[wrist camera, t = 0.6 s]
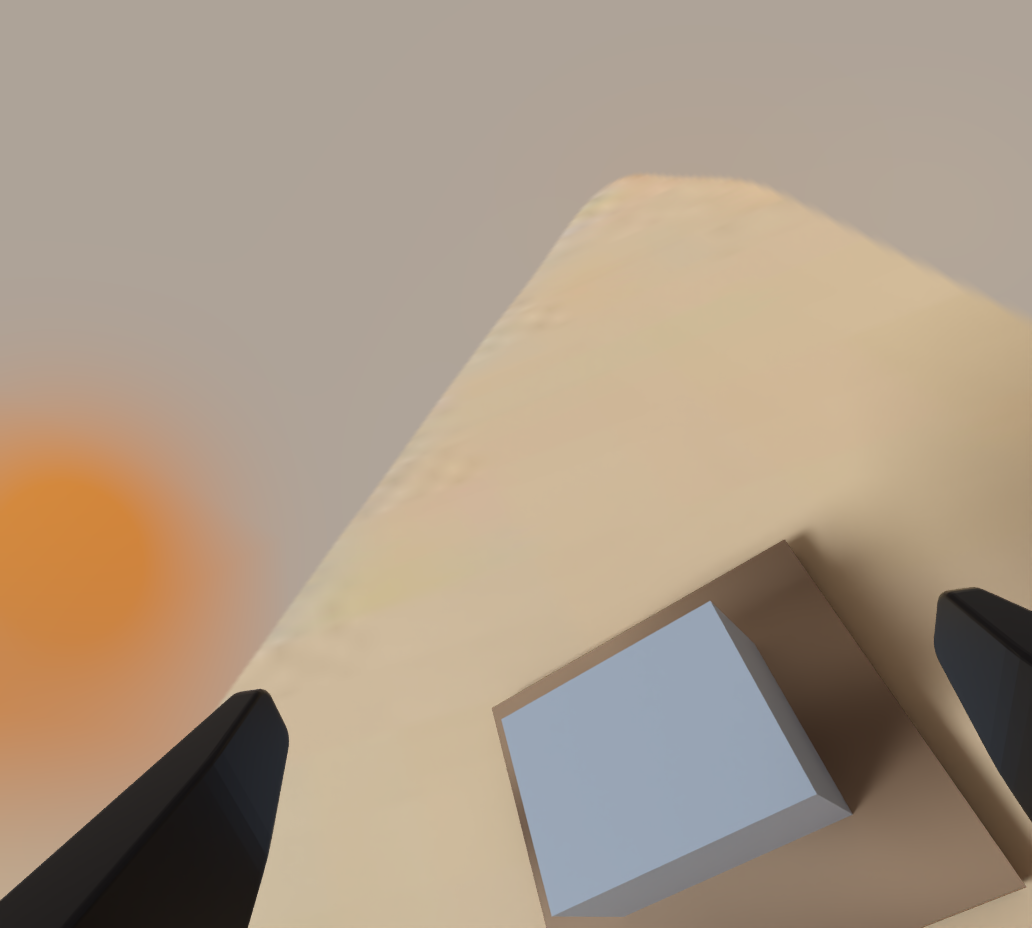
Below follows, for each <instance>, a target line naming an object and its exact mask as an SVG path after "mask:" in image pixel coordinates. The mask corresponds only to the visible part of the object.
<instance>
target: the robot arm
mask: <svg viewBox="0 0 1032 928" xmlns="http://www.w3.org/2000/svg"><path fill="white" fill-rule="evenodd" d="M934 647H935V652H936V655H937V658H938V660H939V662H940V664H941V666H942V668H943V669H944V671H945V673H946V675H947V677H948V679H949V681H950V683H951V684H952V686H953V688H954V690H955V692H956V694H957V696H958V698H959V699H960V701H961V703H962V705H963V707H964V709H965V711H966V713H967V714H968V716H969V718H970V720H971V722H972V724H973V726H974V728H975V729H976V731H977V733H978V735H979V737H980V739H981V741H982V743H983V744H984V746H985V748H986V750H987V752H988V754H989V756H990V757H991V759H992V761H993V763H994V764H995V766H996V768H997V770H998V771H999V773H1000V775H1001V776H1002V778H1003V779H1004V781H1005V782H1006V784H1007V786H1008V787H1009V789H1010V790H1011V792H1012V793H1013V795H1014V796H1015V798H1016V799H1017V801H1018V802H1019V804H1020V805H1021V807H1022V808H1023V810H1024V811H1025V813H1026V814H1027V816H1028V817H1029V819H1030V820H1031V822H1032V611H1030V610H1028V609H1026V608H1024V607H1021V606H1019V605H1017V604H1015V603H1012V602H1010V601H1008V600H1006V599H1003V598H1001V597H999V596H997V595H994V594H992V593H990V592H988V591H986V590H983V589H980V588H976V587H970V588H963V589H956V590H949V591H945V592H943V593H942V594H941V595H940V596H939V599H938V603H937V614H936V624H935V634H934ZM288 747H289V735H288V731H287V728H286V726H285V724H284V721H283V719H282V717H281V715H280V713H279V711H278V709H277V707H276V705H275V703H274V701H273V699H272V697H271V695H270V694H269V693H268V692H267V691H266V690H263V689H256V690H249V691H242V692H238V693H236V694H234V695H232V696H231V697H230V698H229V699H228V700H227V701H225V702H224V703H223V704H222V705H221V706H220V707H219V708H218V709H216V710H215V711H214V712H213V713H212V714H211V715H210V716H209V717H207V718H206V719H205V720H204V721H203V722H202V723H201V724H200V725H198V726H197V727H196V728H195V729H194V730H193V731H192V732H190V733H189V734H188V735H187V736H186V737H185V738H184V739H183V740H181V741H180V742H179V743H178V744H177V745H176V746H175V747H173V748H172V749H171V750H170V751H169V752H168V753H167V754H166V755H164V757H162V758H161V759H160V760H159V761H158V762H157V763H155V764H154V765H153V766H152V767H151V768H150V769H149V770H147V771H146V772H145V773H144V774H143V775H142V776H141V777H140V778H138V779H137V780H136V781H135V782H134V783H133V784H132V785H130V786H129V787H128V788H127V789H126V790H125V791H124V792H123V793H121V794H120V795H119V796H118V797H117V798H116V799H115V800H113V801H112V802H111V803H110V804H109V805H108V806H107V807H106V808H104V809H103V810H102V811H101V812H100V813H99V814H98V815H97V816H96V817H94V818H93V819H92V820H91V821H90V822H89V823H87V824H86V825H85V826H84V827H83V828H82V829H81V830H80V831H78V832H77V833H76V834H75V835H74V836H73V837H72V838H70V839H69V840H68V841H67V842H66V843H65V844H64V845H63V846H61V847H60V848H59V849H58V850H57V851H56V852H55V853H54V854H52V855H51V856H50V857H49V858H48V859H47V860H46V861H44V862H43V863H42V864H41V865H40V866H39V867H38V868H36V870H34V871H33V872H32V873H31V874H30V875H29V876H27V877H26V878H25V879H24V880H23V881H22V882H21V883H20V884H18V885H17V886H16V887H15V888H14V889H13V890H12V891H10V892H9V893H8V894H7V895H6V896H5V897H4V898H3V899H1V900H0V928H248V925H249V922H250V918H251V915H252V911H253V908H254V904H255V901H256V897H257V894H258V890H259V887H260V884H261V880H262V877H263V873H264V869H265V865H266V862H267V858H268V853H269V849H270V844H271V839H272V834H273V829H274V823H275V818H276V813H277V807H278V802H279V796H280V791H281V785H282V780H283V775H284V769H285V764H286V758H287V753H288Z"/></svg>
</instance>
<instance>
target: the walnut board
mask: <svg viewBox="0 0 1032 928" xmlns="http://www.w3.org/2000/svg"><path fill="white" fill-rule="evenodd" d="M709 601H711V602H712V603H713V604H714V605H715V606H716V607H717V608H718V609H719V610H720V611H721V612H722V613H723V614H724V615H725V616H726V617H727V618H728V619H729V620H731V621H732V622H733V623H734V624H735V625H736V626H737V627H738V628H739V629H740V630H741V631H742V632H743V633H744V634H745V635H746V636H747V637H748V638H749V639H750V640H751V641H752V642H753V643H754V644H755V645H756V647H757V649H758V651H759V652H760V654H761V656H762V658H763V659H764V661H765V663H766V665H767V666H768V668H769V670H770V672H771V673H772V675H773V677H774V678H775V680H776V682H777V684H778V685H779V687H780V689H781V691H782V692H783V694H784V696H785V698H786V699H787V701H788V703H789V705H790V706H791V708H792V710H793V711H794V713H795V715H796V717H797V718H798V720H799V722H800V724H801V725H802V727H803V729H804V731H805V732H806V734H807V736H808V738H809V739H810V741H811V743H812V744H813V746H814V748H815V750H816V751H817V753H818V755H819V757H820V758H821V760H822V762H823V764H824V765H825V767H826V769H827V771H828V772H829V774H830V776H831V777H832V779H833V781H834V783H835V784H836V786H837V788H838V790H839V791H840V793H841V795H842V797H843V798H844V800H845V802H846V804H847V805H848V807H849V809H850V811H851V812H852V814H853V815H851V816H848V817H846V818H844V819H842V820H839V821H837V822H835V823H833V824H830V825H828V826H826V827H824V828H821V829H819V830H817V831H815V832H812V833H810V834H808V835H806V836H804V837H801V838H799V839H797V840H795V841H792V842H790V843H788V844H786V845H783V846H781V847H779V848H777V849H774V850H772V851H770V852H768V853H765V854H763V855H761V856H759V857H756V858H754V859H752V860H750V861H748V862H745V863H743V864H741V865H739V866H736V867H734V868H732V869H730V870H727V871H725V872H723V873H721V874H718V875H716V876H714V877H712V878H709V879H707V880H705V881H703V882H700V883H698V884H696V885H694V886H692V887H689V888H687V889H685V890H683V891H680V892H678V893H676V894H674V895H671V896H669V897H667V898H665V899H662V900H660V901H658V902H656V903H653V904H651V905H649V906H647V907H644V908H642V909H640V910H638V911H636V912H633V913H631V914H629V915H627V916H624V917H562V916H551V912H550V908H549V904H548V900H547V896H546V892H545V888H544V884H543V880H542V877H541V873H540V869H539V865H538V861H537V857H536V853H535V849H534V845H533V841H532V837H531V834H530V830H529V826H528V822H527V818H526V814H525V810H524V806H523V802H522V798H521V794H520V791H519V787H518V783H517V779H516V775H515V771H514V767H513V763H512V759H511V755H510V751H509V747H508V744H507V740H506V736H505V732H504V728H503V724H502V720H501V719H503V718H504V717H506V716H508V715H510V714H512V713H513V712H515V711H517V710H519V709H520V708H522V707H524V706H526V705H527V704H529V703H531V702H533V701H534V700H536V699H538V698H540V697H541V696H543V695H545V694H547V693H549V692H550V691H552V690H554V689H556V688H557V687H559V686H561V685H563V684H564V683H566V682H568V681H570V680H571V679H573V678H575V677H577V676H578V675H580V674H582V673H584V672H586V671H587V670H589V669H591V668H593V667H594V666H596V665H598V664H600V663H601V662H603V661H605V660H607V659H608V658H610V657H612V656H614V655H615V654H617V653H619V652H621V651H623V650H624V649H626V648H628V647H630V646H631V645H633V644H635V643H637V642H638V641H640V640H642V639H644V638H645V637H647V636H649V635H651V634H652V633H654V632H656V631H658V630H659V629H661V628H663V627H665V626H667V625H668V624H670V623H672V622H674V621H675V620H677V619H679V618H681V617H682V616H684V615H686V614H688V613H689V612H691V611H693V610H695V609H696V608H698V607H700V606H702V605H704V604H705V603H707V602H709ZM492 711H493V715H494V719H495V723H496V727H497V731H498V735H499V739H500V743H501V747H502V751H503V755H504V759H505V763H506V767H507V771H508V775H509V779H510V783H511V787H512V791H513V795H514V799H515V803H516V807H517V811H518V815H519V819H520V823H521V827H522V831H523V835H524V839H525V843H526V847H527V851H528V856H529V860H530V864H531V868H532V872H533V876H534V880H535V884H536V888H537V892H538V896H539V900H540V904H541V908H542V912H543V916H544V920H545V924H546V928H922V927H925V926H928V925H930V924H933V923H935V922H938V921H940V920H943V919H946V918H948V917H951V916H953V915H956V914H958V913H961V912H964V911H966V910H969V909H971V908H974V907H976V906H979V905H982V904H984V903H987V902H989V901H992V900H994V899H997V898H1000V897H1002V896H1005V895H1007V894H1010V893H1012V892H1015V891H1018V890H1020V889H1023V888H1025V887H1026V886H1025V884H1024V883H1023V881H1022V880H1021V879H1020V877H1019V876H1018V874H1017V873H1016V871H1015V870H1014V868H1013V867H1012V866H1011V864H1010V863H1009V861H1008V860H1007V858H1006V857H1005V856H1004V854H1003V853H1002V851H1001V850H1000V848H999V847H998V846H997V844H996V843H995V841H994V840H993V838H992V837H991V835H990V834H989V833H988V831H987V830H986V828H985V827H984V825H983V824H982V823H981V821H980V820H979V818H978V817H977V815H976V814H975V812H974V811H973V810H972V808H971V807H970V805H969V804H968V802H967V801H966V800H965V798H964V797H963V795H962V794H961V792H960V791H959V789H958V788H957V787H956V785H955V784H954V782H953V781H952V779H951V778H950V777H949V775H948V774H947V772H946V771H945V769H944V768H943V766H942V765H941V764H940V762H939V761H938V759H937V758H936V756H935V755H934V754H933V752H932V751H931V749H930V748H929V746H928V745H927V743H926V742H925V741H924V739H923V738H922V736H921V735H920V733H919V732H918V731H917V729H916V728H915V726H914V725H913V723H912V722H911V720H910V719H909V718H908V716H907V715H906V713H905V712H904V710H903V709H902V708H901V706H900V705H899V703H898V702H897V700H896V699H895V697H894V696H893V695H892V693H891V692H890V690H889V689H888V687H887V686H886V685H885V683H884V682H883V680H882V679H881V677H880V676H879V674H878V673H877V672H876V670H875V669H874V667H873V666H872V664H871V663H870V662H869V660H868V659H867V657H866V656H865V654H864V653H863V652H862V650H861V649H860V647H859V646H858V644H857V643H856V641H855V640H854V639H853V637H852V636H851V634H850V633H849V631H848V630H847V629H846V627H845V626H844V624H843V623H842V621H841V620H840V618H839V617H838V616H837V614H836V613H835V611H834V610H833V608H832V607H831V606H830V604H829V603H828V601H827V600H826V598H825V597H824V595H823V594H822V593H821V591H820V590H819V588H818V587H817V585H816V584H815V583H814V581H813V580H812V578H811V577H810V575H809V574H808V572H807V571H806V570H805V568H804V567H803V565H802V564H801V562H800V561H799V560H798V558H797V557H796V555H795V554H794V552H793V551H792V549H791V548H790V547H789V545H788V544H787V542H786V541H785V540H783V541H781V542H779V543H778V544H776V545H774V546H772V547H771V548H769V549H767V550H765V551H764V552H762V553H760V554H759V555H757V556H755V557H753V558H752V559H750V560H748V561H746V562H745V563H743V564H741V565H739V566H738V567H736V568H734V569H733V570H731V571H729V572H727V573H726V574H724V575H722V576H720V577H719V578H717V579H715V580H713V581H712V582H710V583H708V584H706V585H705V586H703V587H701V588H700V589H698V590H696V591H694V592H693V593H691V594H689V595H687V596H686V597H684V598H682V599H680V600H679V601H677V602H675V603H673V604H672V605H670V606H668V607H667V608H665V609H663V610H661V611H660V612H658V613H656V614H654V615H653V616H651V617H649V618H647V619H646V620H644V621H642V622H640V623H639V624H637V625H635V626H634V627H632V628H630V629H628V630H627V631H625V632H623V633H621V634H620V635H618V636H616V637H614V638H613V639H611V640H609V641H607V642H606V643H604V644H602V645H601V646H599V647H597V648H595V649H594V650H592V651H590V652H588V653H587V654H585V655H583V656H581V657H580V658H578V659H576V660H574V661H573V662H571V663H569V664H568V665H566V666H564V667H562V668H561V669H559V670H557V671H555V672H554V673H552V674H550V675H548V676H547V677H545V678H543V679H541V680H540V681H538V682H536V683H535V684H533V685H531V686H529V687H528V688H526V689H524V690H522V691H521V692H519V693H517V694H515V695H514V696H512V697H510V698H508V699H507V700H505V701H503V702H502V703H500V704H498V705H496V706H495V707H493V708H492Z"/></svg>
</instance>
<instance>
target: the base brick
mask: <svg viewBox="0 0 1032 928" xmlns="http://www.w3.org/2000/svg"><path fill="white" fill-rule="evenodd" d="M501 720H502V724H503V728H504V732H505V736H506V740H507V744H508V747H509V751H510V755H511V759H512V763H513V767H514V771H515V775H516V779H517V783H518V787H519V791H520V794H521V798H522V802H523V806H524V810H525V814H526V818H527V822H528V826H529V830H530V834H531V837H532V841H533V845H534V849H535V853H536V857H537V861H538V865H539V869H540V873H541V877H542V880H543V884H544V888H545V892H546V896H547V900H548V904H549V908H550V912H551V916H562V917H624V916H627V915H629V914H631V913H633V912H636V911H638V910H640V909H642V908H644V907H647V906H649V905H651V904H653V903H656V902H658V901H660V900H662V899H665V898H667V897H669V896H671V895H674V894H676V893H678V892H680V891H683V890H685V889H687V888H689V887H692V886H694V885H696V884H698V883H700V882H703V881H705V880H707V879H709V878H712V877H714V876H716V875H718V874H721V873H723V872H725V871H727V870H730V869H732V868H734V867H736V866H739V865H741V864H743V863H745V862H748V861H750V860H752V859H754V858H756V857H759V856H761V855H763V854H765V853H768V852H770V851H772V850H774V849H777V848H779V847H781V846H783V845H786V844H788V843H790V842H792V841H795V840H797V839H799V838H801V837H804V836H806V835H808V834H810V833H812V832H815V831H817V830H819V829H821V828H824V827H826V826H828V825H830V824H833V823H835V822H837V821H839V820H842V819H844V818H846V817H848V816H851V815H853V814H852V812H851V811H850V809H849V807H848V805H847V804H846V802H845V800H844V798H843V797H842V795H841V793H840V791H839V790H838V788H837V786H836V784H835V783H834V781H833V779H832V777H831V776H830V774H829V772H828V771H827V769H826V767H825V765H824V764H823V762H822V760H821V758H820V757H819V755H818V753H817V751H816V750H815V748H814V746H813V744H812V743H811V741H810V739H809V738H808V736H807V734H806V732H805V731H804V729H803V727H802V725H801V724H800V722H799V720H798V718H797V717H796V715H795V713H794V711H793V710H792V708H791V706H790V705H789V703H788V701H787V699H786V698H785V696H784V694H783V692H782V691H781V689H780V687H779V685H778V684H777V682H776V680H775V678H774V677H773V675H772V673H771V672H770V670H769V668H768V666H767V665H766V663H765V661H764V659H763V658H762V656H761V654H760V652H759V651H758V649H757V647H756V645H755V644H754V643H753V642H752V641H751V640H750V639H749V638H748V637H747V636H746V635H745V634H744V633H743V632H742V631H741V630H740V629H739V628H738V627H737V626H736V625H735V624H734V623H733V622H732V621H731V620H729V619H728V618H727V617H726V616H725V615H724V614H723V613H722V612H721V611H720V610H719V609H718V608H717V607H716V606H715V605H714V604H713V603H712V602H711V601H709V602H707V603H705V604H704V605H702V606H700V607H698V608H696V609H695V610H693V611H691V612H689V613H688V614H686V615H684V616H682V617H681V618H679V619H677V620H675V621H674V622H672V623H670V624H668V625H667V626H665V627H663V628H661V629H659V630H658V631H656V632H654V633H652V634H651V635H649V636H647V637H645V638H644V639H642V640H640V641H638V642H637V643H635V644H633V645H631V646H630V647H628V648H626V649H624V650H623V651H621V652H619V653H617V654H615V655H614V656H612V657H610V658H608V659H607V660H605V661H603V662H601V663H600V664H598V665H596V666H594V667H593V668H591V669H589V670H587V671H586V672H584V673H582V674H580V675H578V676H577V677H575V678H573V679H571V680H570V681H568V682H566V683H564V684H563V685H561V686H559V687H557V688H556V689H554V690H552V691H550V692H549V693H547V694H545V695H543V696H541V697H540V698H538V699H536V700H534V701H533V702H531V703H529V704H527V705H526V706H524V707H522V708H520V709H519V710H517V711H515V712H513V713H512V714H510V715H508V716H506V717H504V718H503V719H501Z"/></svg>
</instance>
